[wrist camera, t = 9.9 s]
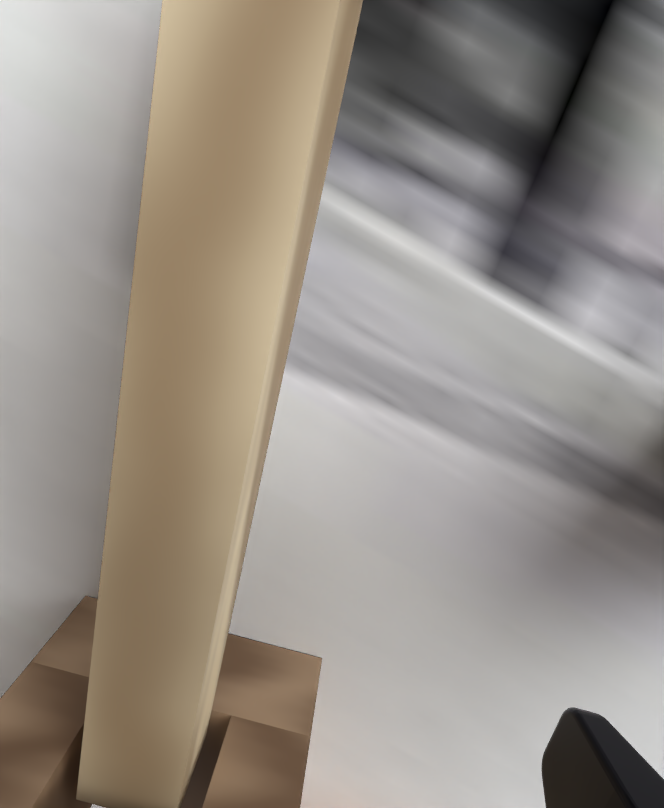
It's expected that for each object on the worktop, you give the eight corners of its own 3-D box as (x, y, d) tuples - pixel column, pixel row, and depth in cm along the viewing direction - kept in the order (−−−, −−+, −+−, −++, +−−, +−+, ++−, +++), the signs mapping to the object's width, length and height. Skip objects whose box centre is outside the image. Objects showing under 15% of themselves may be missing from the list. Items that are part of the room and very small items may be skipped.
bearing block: (321, 658, 21) (271, 997, 12) (291, 762, 23) (227, 1123, 14) (85, 595, 22) (-150, 880, 12) (74, 703, 23) (-136, 1022, 14)
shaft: (400, -52, 11) (408, -195, 8) (224, 725, 19) (183, 848, 15) (221, -95, 11) (140, -257, 8) (116, 696, 19) (49, 812, 15)
